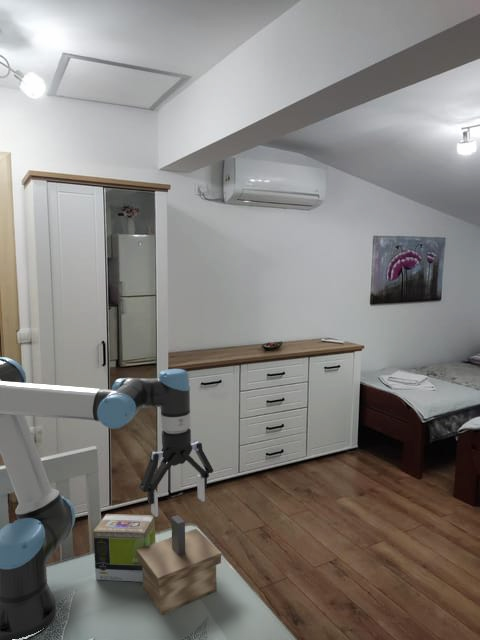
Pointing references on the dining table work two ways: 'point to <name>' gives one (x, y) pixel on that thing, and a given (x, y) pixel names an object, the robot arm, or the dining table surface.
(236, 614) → the dining table surface
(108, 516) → the tea box
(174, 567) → the lid
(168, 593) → the wooden box
